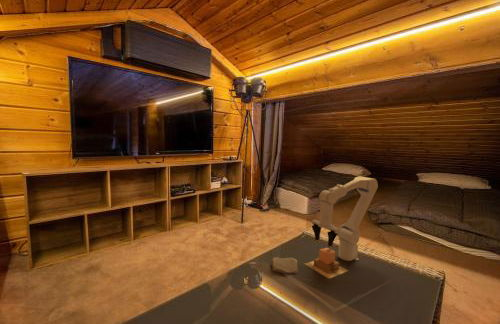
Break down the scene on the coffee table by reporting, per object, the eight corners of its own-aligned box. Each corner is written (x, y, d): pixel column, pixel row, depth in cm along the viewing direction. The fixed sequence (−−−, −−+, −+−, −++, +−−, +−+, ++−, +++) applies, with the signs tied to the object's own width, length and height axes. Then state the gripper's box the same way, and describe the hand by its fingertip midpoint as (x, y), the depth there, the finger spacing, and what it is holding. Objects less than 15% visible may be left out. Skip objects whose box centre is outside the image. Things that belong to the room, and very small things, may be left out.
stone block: (299, 280, 102) (296, 264, 112) (299, 271, 101) (297, 256, 111) (271, 278, 103) (271, 262, 113) (272, 269, 102) (272, 254, 112)
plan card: (345, 285, 97) (345, 284, 97) (361, 294, 91) (361, 293, 91) (336, 289, 94) (336, 288, 94) (352, 299, 88) (352, 298, 88)
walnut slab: (324, 261, 115) (325, 255, 115) (338, 269, 108) (339, 262, 108) (313, 265, 110) (314, 259, 110) (327, 273, 104) (328, 267, 103)
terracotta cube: (325, 257, 112) (326, 247, 112) (334, 262, 108) (335, 251, 108) (318, 259, 110) (319, 249, 109) (327, 264, 106) (328, 253, 105)
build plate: (323, 259, 119) (323, 257, 119) (348, 272, 107) (348, 270, 107) (304, 265, 111) (304, 263, 111) (328, 281, 100) (328, 278, 100)
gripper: (308, 212, 117) (306, 238, 118) (333, 221, 105) (330, 250, 106) (318, 210, 121) (315, 236, 122) (343, 219, 109) (340, 247, 110)
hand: (323, 242), depth 114 cm, fingers open, 7 cm apart
